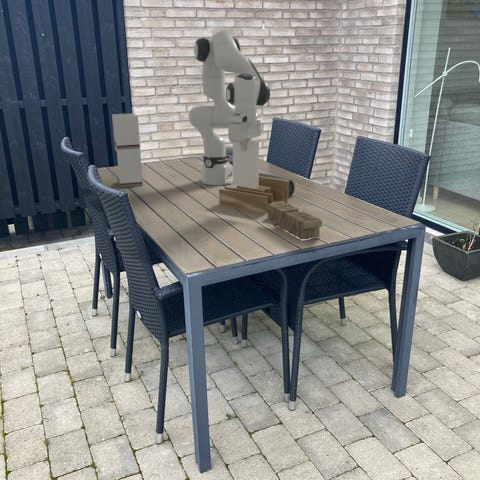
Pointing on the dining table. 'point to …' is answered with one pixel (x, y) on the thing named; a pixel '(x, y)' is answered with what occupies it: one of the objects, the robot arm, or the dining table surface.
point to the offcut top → (260, 189)
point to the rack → (255, 195)
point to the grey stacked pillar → (127, 149)
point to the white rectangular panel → (246, 164)
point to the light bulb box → (230, 153)
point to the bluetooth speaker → (291, 183)
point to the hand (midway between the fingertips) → (245, 150)
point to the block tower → (294, 220)
